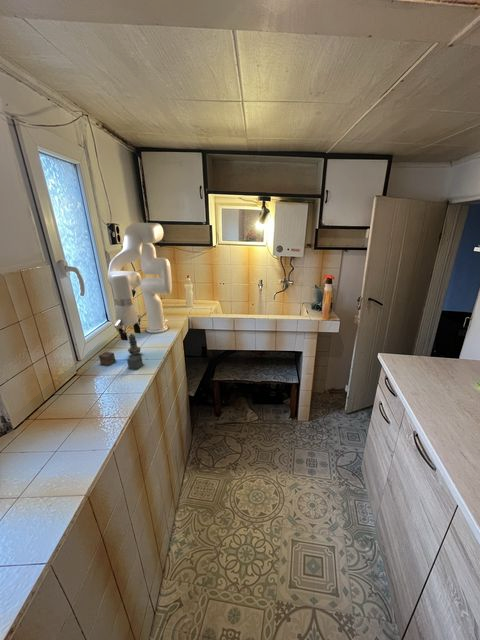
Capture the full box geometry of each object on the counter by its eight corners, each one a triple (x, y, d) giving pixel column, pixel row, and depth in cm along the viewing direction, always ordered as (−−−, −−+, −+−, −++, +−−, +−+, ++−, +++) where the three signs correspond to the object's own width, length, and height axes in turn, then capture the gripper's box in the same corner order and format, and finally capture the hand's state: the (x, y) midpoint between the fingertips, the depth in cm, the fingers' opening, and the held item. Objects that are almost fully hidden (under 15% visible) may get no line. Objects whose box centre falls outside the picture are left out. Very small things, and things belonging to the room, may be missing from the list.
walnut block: (107, 360, 136) (105, 351, 134) (115, 361, 135) (113, 352, 133) (100, 364, 132) (98, 355, 130) (109, 365, 131) (106, 356, 129)
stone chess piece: (137, 358, 137) (132, 336, 132) (126, 357, 138) (121, 334, 133) (144, 353, 143) (140, 331, 138) (133, 352, 144) (129, 330, 139)
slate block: (134, 363, 133) (133, 355, 131) (143, 365, 132) (141, 356, 130) (128, 368, 129) (126, 359, 127) (137, 369, 128) (135, 360, 126)
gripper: (129, 296, 137) (136, 329, 144) (103, 305, 122) (112, 342, 129) (143, 297, 136) (148, 331, 143) (118, 307, 120) (126, 344, 127)
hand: (131, 336), depth 136 cm, fingers open, 9 cm apart
